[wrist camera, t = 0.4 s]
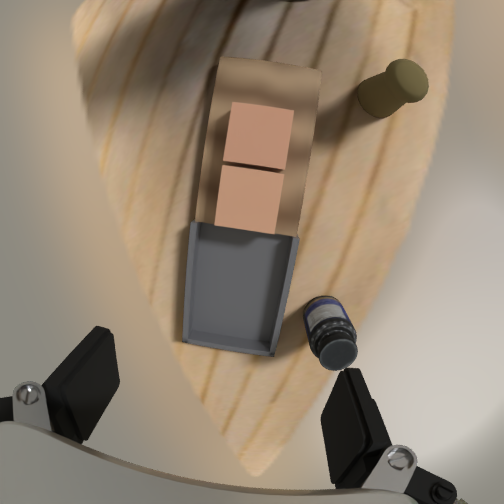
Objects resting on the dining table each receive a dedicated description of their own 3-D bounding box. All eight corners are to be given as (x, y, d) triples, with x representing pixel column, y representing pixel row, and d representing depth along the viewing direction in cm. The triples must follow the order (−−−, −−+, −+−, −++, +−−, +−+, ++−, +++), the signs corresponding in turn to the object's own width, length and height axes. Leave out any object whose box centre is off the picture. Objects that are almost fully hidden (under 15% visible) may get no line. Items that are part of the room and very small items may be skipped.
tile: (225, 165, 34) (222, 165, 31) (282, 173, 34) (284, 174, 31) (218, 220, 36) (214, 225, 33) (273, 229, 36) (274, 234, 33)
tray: (196, 218, 38) (190, 222, 35) (296, 233, 38) (299, 239, 35) (187, 331, 43) (182, 341, 40) (273, 345, 43) (274, 356, 40)
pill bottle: (339, 330, 42) (357, 374, 32) (300, 330, 42) (309, 376, 32) (345, 293, 40) (368, 333, 30) (304, 293, 41) (316, 334, 30)
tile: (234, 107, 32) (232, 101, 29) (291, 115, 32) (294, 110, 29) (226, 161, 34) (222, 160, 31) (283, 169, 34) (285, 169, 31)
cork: (360, 117, 34) (394, 100, 23) (354, 76, 32) (383, 48, 21) (399, 118, 33) (440, 106, 23) (393, 79, 32) (430, 56, 21)
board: (222, 61, 32) (220, 56, 30) (319, 75, 32) (322, 70, 30) (198, 218, 38) (194, 221, 36) (294, 233, 38) (296, 236, 36)
